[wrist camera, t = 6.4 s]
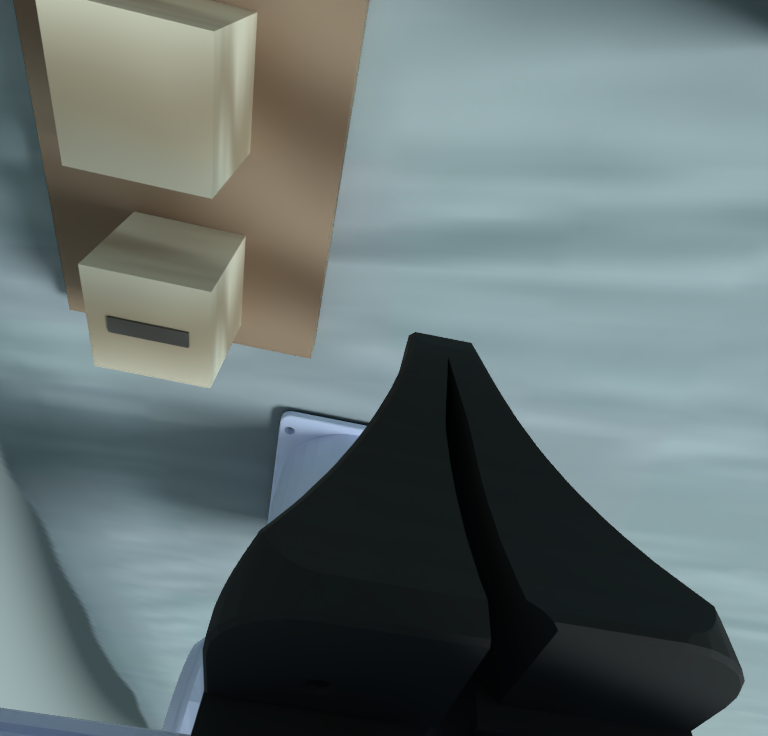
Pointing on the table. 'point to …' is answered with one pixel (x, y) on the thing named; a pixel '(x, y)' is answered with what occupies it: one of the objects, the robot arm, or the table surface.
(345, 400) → the table surface
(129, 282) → the block one
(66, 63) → the plain block
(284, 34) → the walnut board
